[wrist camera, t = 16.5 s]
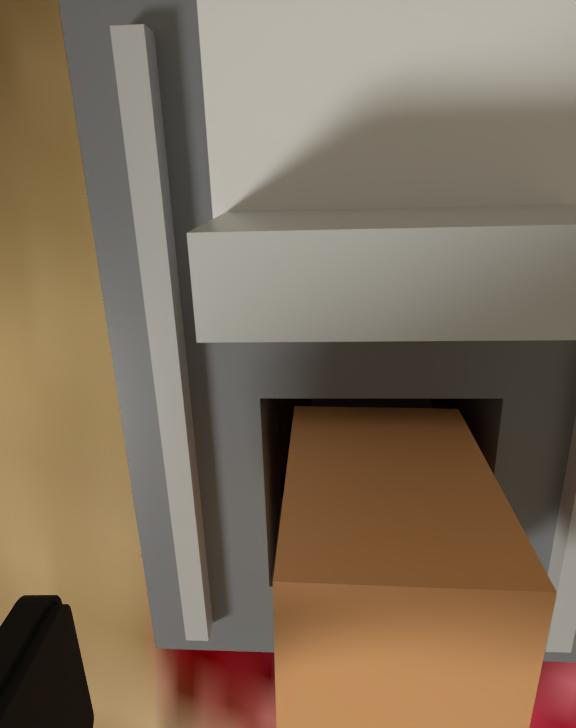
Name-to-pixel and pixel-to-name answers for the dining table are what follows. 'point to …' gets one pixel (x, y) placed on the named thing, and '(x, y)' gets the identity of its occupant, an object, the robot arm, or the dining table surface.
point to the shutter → (387, 171)
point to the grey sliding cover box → (260, 357)
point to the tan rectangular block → (402, 576)
